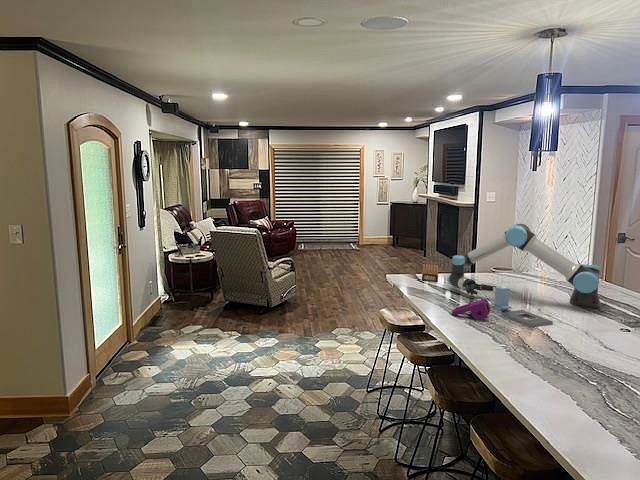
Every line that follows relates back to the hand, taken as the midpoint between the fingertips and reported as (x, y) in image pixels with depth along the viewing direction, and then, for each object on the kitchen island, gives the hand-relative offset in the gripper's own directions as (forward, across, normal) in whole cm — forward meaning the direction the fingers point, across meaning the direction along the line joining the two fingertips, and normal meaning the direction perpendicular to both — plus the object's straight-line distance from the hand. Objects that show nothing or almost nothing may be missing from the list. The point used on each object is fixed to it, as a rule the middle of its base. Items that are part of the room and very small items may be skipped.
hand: (491, 293), depth 265 cm
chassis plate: (+27, +1, -7) cm, 28 cm away
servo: (+8, 0, -7) cm, 10 cm away
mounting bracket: (+12, +24, -7) cm, 28 cm away
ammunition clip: (-60, 0, -7) cm, 60 cm away
